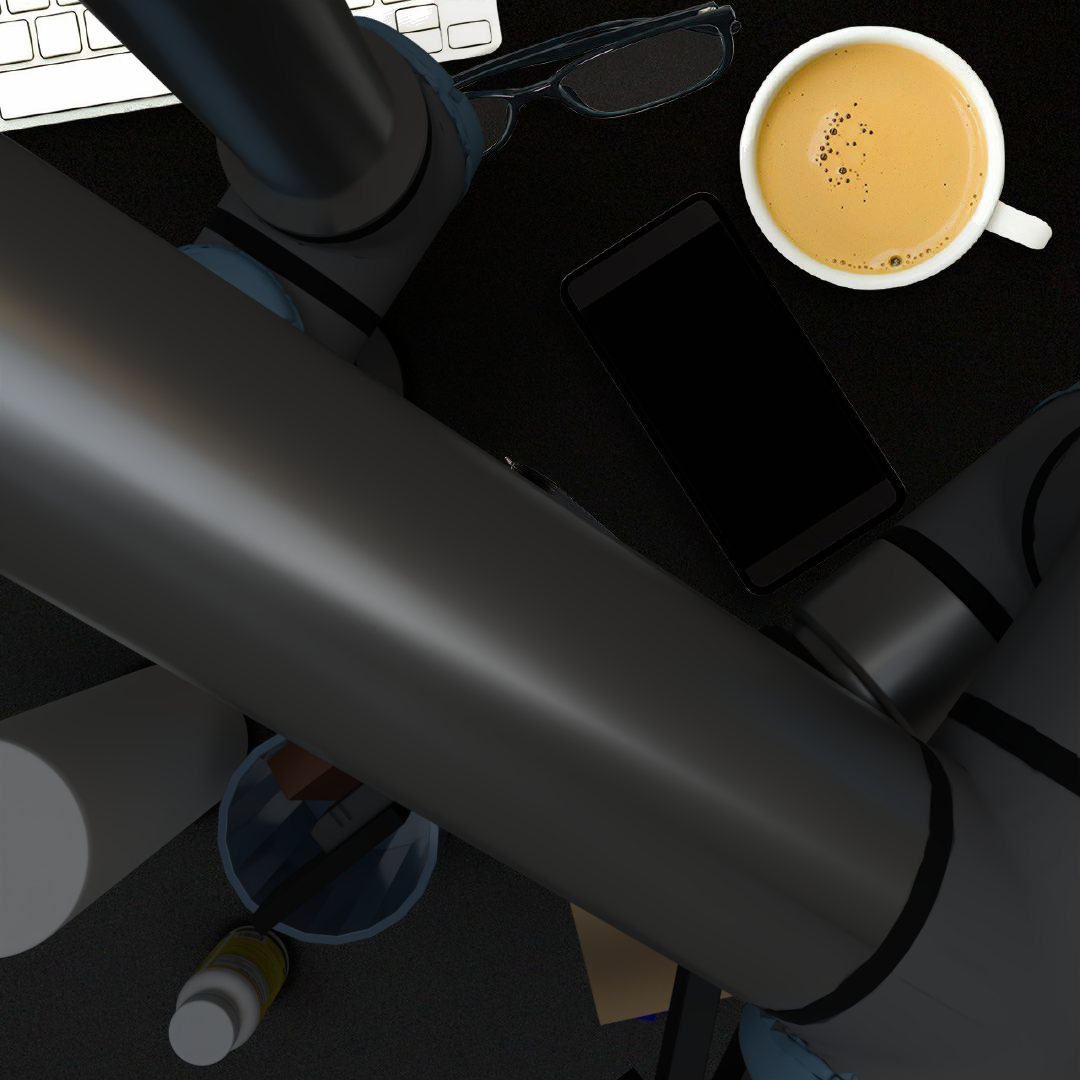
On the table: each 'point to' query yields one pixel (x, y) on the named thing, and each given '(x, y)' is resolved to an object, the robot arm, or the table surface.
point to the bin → (286, 845)
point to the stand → (623, 971)
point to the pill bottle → (228, 995)
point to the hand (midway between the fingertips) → (383, 1058)
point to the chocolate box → (309, 776)
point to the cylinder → (103, 791)
